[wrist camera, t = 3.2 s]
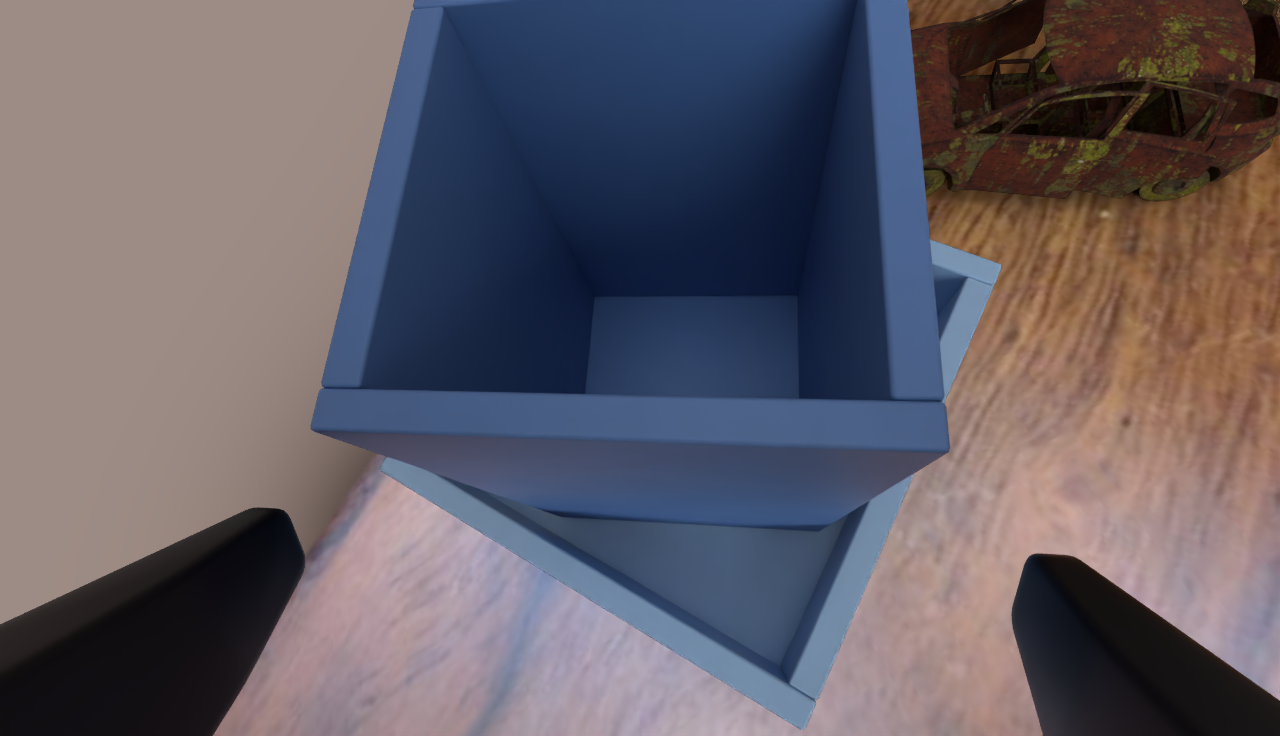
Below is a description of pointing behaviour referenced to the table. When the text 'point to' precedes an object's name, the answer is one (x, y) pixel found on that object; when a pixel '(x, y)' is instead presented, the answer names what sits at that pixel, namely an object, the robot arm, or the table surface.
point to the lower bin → (727, 553)
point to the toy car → (1099, 96)
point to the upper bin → (648, 261)
